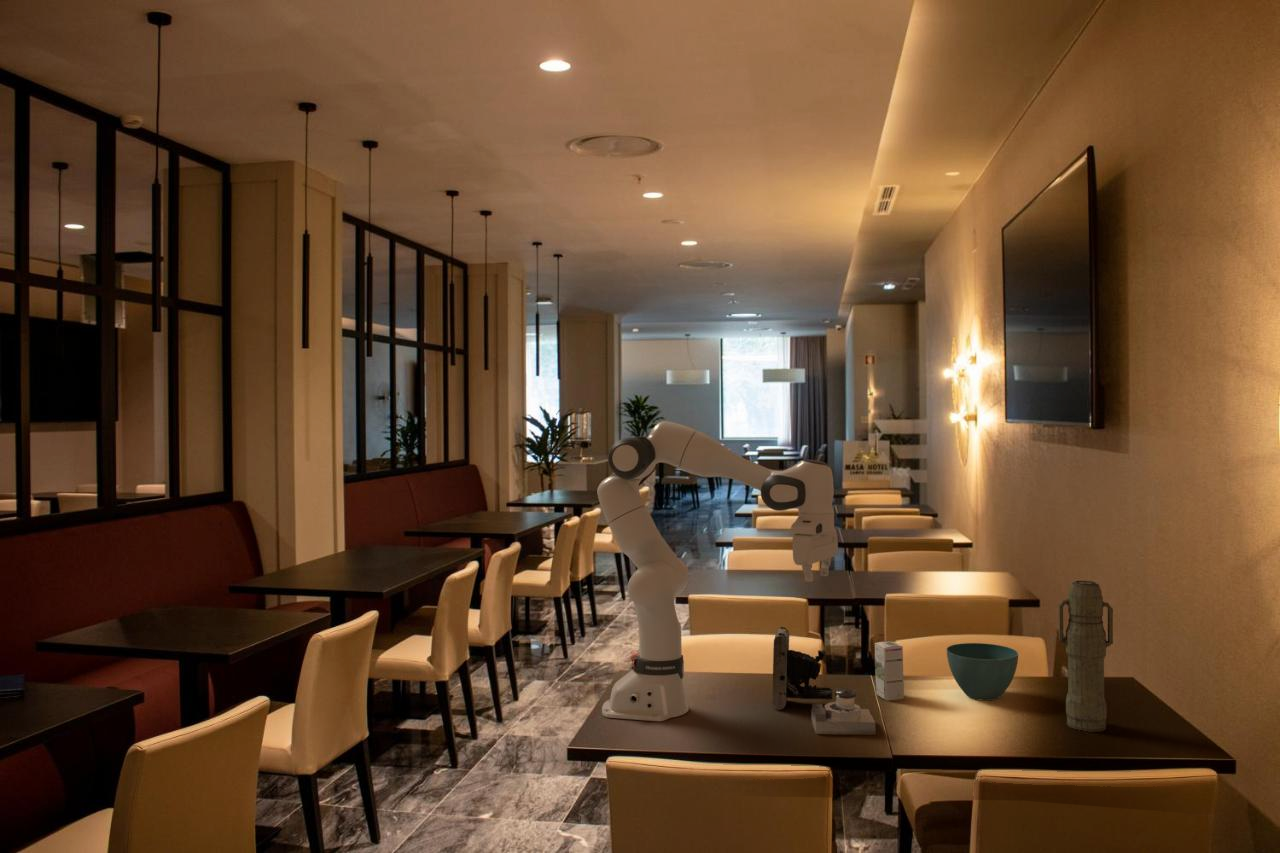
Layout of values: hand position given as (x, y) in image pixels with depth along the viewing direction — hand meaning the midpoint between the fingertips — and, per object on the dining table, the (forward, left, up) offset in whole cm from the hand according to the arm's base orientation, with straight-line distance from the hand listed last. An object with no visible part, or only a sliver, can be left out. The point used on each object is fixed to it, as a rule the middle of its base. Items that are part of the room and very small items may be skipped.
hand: (816, 578), depth 239 cm
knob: (+5, -8, -32) cm, 34 cm away
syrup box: (+21, +17, -35) cm, 44 cm away
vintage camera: (-3, +9, -35) cm, 37 cm away
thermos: (+64, -5, -35) cm, 73 cm away
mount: (+5, -8, -35) cm, 36 cm away
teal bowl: (+46, +19, -35) cm, 61 cm away
